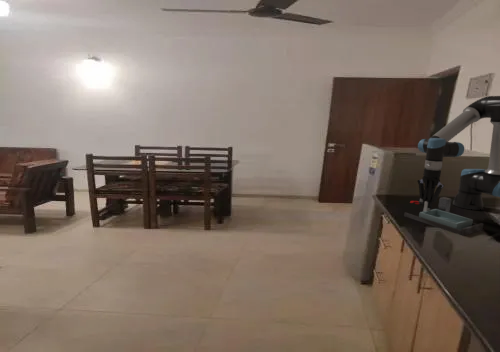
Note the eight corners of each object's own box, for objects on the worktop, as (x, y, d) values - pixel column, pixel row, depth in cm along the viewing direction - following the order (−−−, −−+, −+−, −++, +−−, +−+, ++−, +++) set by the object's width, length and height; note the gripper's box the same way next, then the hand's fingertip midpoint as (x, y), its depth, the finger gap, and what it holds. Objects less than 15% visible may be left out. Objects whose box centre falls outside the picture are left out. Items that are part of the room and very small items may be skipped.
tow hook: (408, 202, 196) (413, 205, 187) (410, 182, 194) (416, 184, 185) (422, 203, 195) (428, 206, 186) (425, 182, 193) (431, 185, 184)
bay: (423, 213, 172) (424, 206, 171) (481, 231, 147) (483, 223, 147) (403, 218, 164) (404, 210, 163) (462, 238, 139) (463, 229, 138)
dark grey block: (441, 214, 172) (443, 196, 170) (448, 216, 169) (451, 198, 166) (436, 215, 170) (439, 197, 168) (444, 217, 167) (447, 199, 165)
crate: (434, 216, 165) (435, 208, 164) (471, 227, 150) (473, 219, 149) (418, 219, 158) (419, 212, 158) (455, 232, 143) (456, 223, 142)
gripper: (415, 167, 161) (409, 210, 166) (441, 171, 150) (434, 218, 155) (424, 166, 164) (418, 208, 169) (450, 170, 153) (442, 216, 158)
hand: (425, 213), depth 162 cm, fingers closed
